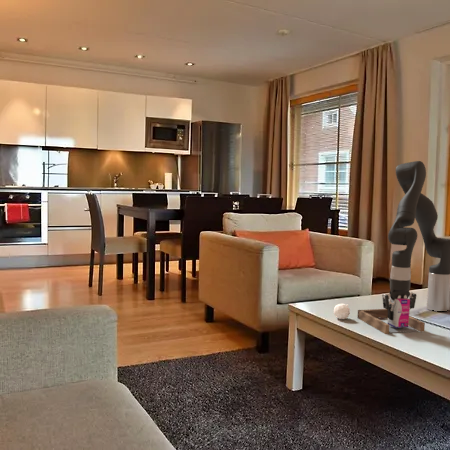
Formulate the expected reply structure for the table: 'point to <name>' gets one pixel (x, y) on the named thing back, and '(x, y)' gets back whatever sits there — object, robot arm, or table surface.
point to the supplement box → (400, 313)
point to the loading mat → (401, 329)
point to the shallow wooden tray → (372, 320)
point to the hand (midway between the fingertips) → (398, 319)
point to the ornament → (341, 311)
